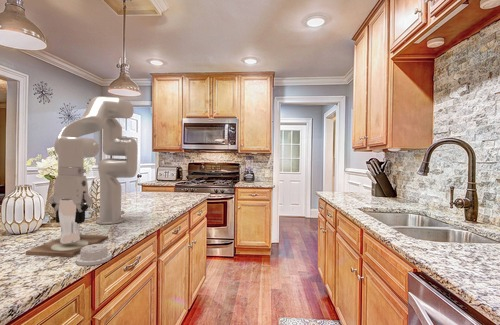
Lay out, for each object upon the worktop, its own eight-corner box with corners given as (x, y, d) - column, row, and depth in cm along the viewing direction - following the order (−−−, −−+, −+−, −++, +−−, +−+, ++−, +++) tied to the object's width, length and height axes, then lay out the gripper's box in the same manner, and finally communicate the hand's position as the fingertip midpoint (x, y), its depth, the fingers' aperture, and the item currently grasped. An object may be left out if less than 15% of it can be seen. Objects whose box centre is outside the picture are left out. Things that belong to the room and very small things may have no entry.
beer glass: (67, 237, 99) (67, 197, 98) (86, 238, 99) (86, 197, 98) (53, 243, 92) (53, 200, 92) (73, 244, 92) (73, 200, 91)
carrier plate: (70, 236, 109) (70, 231, 109) (108, 238, 108) (108, 232, 108) (25, 254, 89) (25, 247, 89) (71, 257, 88) (71, 249, 88)
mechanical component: (67, 264, 82) (95, 268, 80) (67, 250, 82) (96, 253, 80) (92, 253, 92) (118, 256, 90) (92, 240, 92) (118, 243, 90)
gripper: (101, 172, 98) (100, 220, 98) (56, 170, 99) (55, 218, 99) (87, 173, 90) (86, 226, 91) (38, 171, 92) (38, 223, 92)
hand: (70, 221), depth 95 cm, fingers closed on beer glass, 6 cm apart
